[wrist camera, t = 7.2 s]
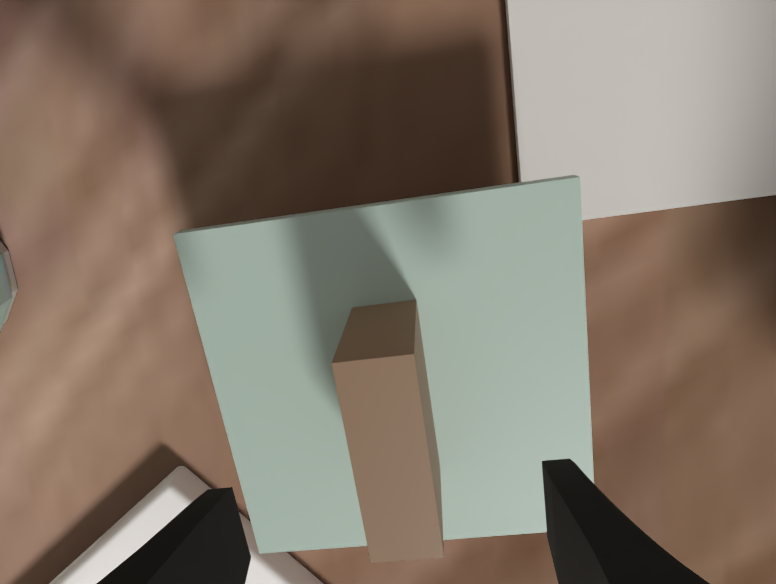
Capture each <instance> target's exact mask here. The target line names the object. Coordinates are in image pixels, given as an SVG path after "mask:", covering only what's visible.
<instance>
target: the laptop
mask: <svg viewBox="0 0 776 584" xmlns="http://www.w3.org/2000/svg"><path fill="white" fill-rule="evenodd" d="M208 489H211V488H210V487H209V486H208V485H206V484H205V483H204V482H203V481H202V480H200V479H199V478H198V477H197V476H196V475H195V474H193V473H192V472H191V471H190V470H189V469H187V468H186V467H184V466H178V467H177V468H176V469H175V470H173V471H172V472H171V473H170V474H169V475H168V476H167V477H166V478H165V479H164V480H162V481H161V482H160V483H159V484H158V485H157V486H156V487H155V488H154V489H152V490H151V491H150V492H149V493H148V494H147V495H146V496H145V497H144V498H143V499H141V500H140V501H139V502H138V503H137V504H136V505H135V506H134V507H133V508H132V509H130V510H129V511H128V512H127V513H126V514H125V515H124V516H123V517H122V518H121V519H119V520H118V521H117V522H116V523H115V524H114V525H113V526H112V527H111V528H110V529H108V530H107V531H106V532H105V533H104V534H103V535H102V536H101V537H100V538H99V539H97V540H96V541H95V542H94V543H93V544H92V545H91V546H90V547H89V548H88V549H86V550H85V551H84V552H83V553H82V554H81V555H80V556H79V557H78V558H77V559H75V560H74V561H73V562H72V563H71V564H70V565H69V566H68V567H67V568H66V569H64V570H63V571H62V572H61V573H60V574H59V575H58V576H57V577H56V578H55V579H53V580H52V581H51V582H50V583H49V584H97V583H98V582H99V581H100V580H102V579H103V578H104V577H105V576H107V575H108V574H109V573H110V572H111V571H113V570H114V569H115V568H116V567H118V566H119V565H120V564H121V563H122V562H124V561H125V560H126V559H127V558H129V557H130V556H131V555H132V554H133V553H135V552H136V551H137V550H138V549H139V548H141V547H142V546H143V545H144V544H145V543H146V542H147V541H149V540H150V539H151V538H152V537H153V536H154V535H155V534H157V533H158V532H159V531H160V530H161V529H162V528H163V527H164V526H166V525H167V524H168V523H169V522H170V521H171V520H172V519H174V518H175V517H176V516H177V515H178V514H179V513H180V512H181V511H183V510H184V509H185V508H186V507H187V506H188V505H189V504H191V503H192V502H193V501H194V500H195V499H196V498H198V497H199V496H200V495H201V494H203V493H204V492H205V491H206V490H208ZM239 515H240V518H241V522H242V526H243V529H244V533H245V537H246V540H247V544H248V547H249V551H250V555H251V560H250V564H249V569H248V573H247V577H246V582H245V584H323V583H322V582H321V581H320V580H319V579H317V578H316V577H315V576H314V575H313V574H312V573H310V572H309V571H308V570H307V569H306V568H304V567H303V566H302V565H301V564H300V563H299V562H297V561H296V560H295V559H294V558H293V557H291V556H290V555H289V554H288V553H287V552H276V553H262V554H259V550H258V547H257V543H256V539H255V536H254V532H253V528H252V525H251V522H250V521H249V520H248V519H247V518H245V517H244V516H243V515H242V514H241V513H239Z"/></svg>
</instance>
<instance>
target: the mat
mask: <svg viewBox="0 0 776 584" xmlns="http://www.w3.org/2000/svg"><path fill="white" fill-rule="evenodd" d="M505 5H506V18H507V31H508V45H509V58H510V71H511V84H512V97H513V110H514V124H515V137H516V150H517V163H518V176H519V182H526V181H533V180H540V179H547V178H555V177H562V176H569V175H576V176H579V177H580V188H581V210H582V220H587V219H595V218H602V217H610V216H618V215H625V214H633V213H641V212H648V211H656V210H664V209H671V208H679V207H687V206H694V205H702V204H710V203H717V202H725V201H733V200H740V199H748V198H756V197H763V196H771V195H776V0H505Z"/></svg>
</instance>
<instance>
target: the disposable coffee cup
mask: <svg viewBox="0 0 776 584" xmlns="http://www.w3.org/2000/svg"><path fill="white" fill-rule="evenodd" d="M17 290H18V288H17V284H16V279H15V275H14V271H13V267H12V263H11V259H10V255H9V251H8V250H7V248H6V247H5V246H4V245H3V244H2V242H1V241H0V332H1V329H2V326H3V324H4V323H5V322H6V321H7V319H8V316H9V313H10V310H11V307H12V304H13V301H14V299H15V296H16V293H17Z"/></svg>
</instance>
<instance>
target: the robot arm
mask: <svg viewBox="0 0 776 584" xmlns="http://www.w3.org/2000/svg"><path fill="white" fill-rule="evenodd" d="M542 472H543V485H544V498H545V512H546V525H547V537H548V541H549V545H550V550H551V554H552V558H553V563H554V567H555V571H556V575H557V579H558V583H559V584H710V583H708V582H707V581H705V580H704V579H702V578H701V577H700V576H698V575H697V574H695V573H694V572H693V571H691V570H690V569H689V568H687V567H686V566H684V565H683V564H682V563H680V562H679V561H678V560H677V559H675V558H674V557H673V556H672V555H670V554H669V553H668V552H667V551H665V550H664V549H663V548H662V547H661V546H659V545H658V544H657V543H656V542H655V541H653V540H652V539H651V538H650V537H649V536H648V535H646V534H645V533H644V532H643V531H642V530H641V529H640V528H639V527H637V526H636V525H635V524H634V523H633V522H632V521H631V520H630V519H629V518H628V517H627V516H626V515H625V514H624V513H622V512H621V511H620V510H619V509H618V508H617V507H616V506H615V505H614V504H613V503H612V502H611V501H610V500H609V499H608V498H607V497H606V496H605V495H604V494H603V493H602V492H601V491H600V490H599V489H598V488H597V487H596V486H595V484H594V483H593V482H592V481H591V480H590V479H589V478H588V477H587V476H586V475H585V474H584V472H583V471H582V470H581V469H580V468H579V467H578V466H577V464H576V463H575V462H573V461H572V460H571V459H558V460H546V461H542ZM250 560H251V555H250V551H249V547H248V544H247V540H246V537H245V533H244V529H243V526H242V522H241V518H240V515H239V511H238V507H237V504H236V500H235V496H234V493H233V489H232V487H231V488H219V489H208V490H206V491H205V492H204V493H203V494H201V495H200V496H199V497H198V498H196V499H195V500H194V501H193V502H192V503H191V504H189V505H188V506H187V507H186V508H185V509H184V510H183V511H181V512H180V513H179V514H178V515H177V516H176V517H175V518H174V519H172V520H171V521H170V522H169V523H168V524H167V525H166V526H164V527H163V528H162V529H161V530H160V531H159V532H158V533H157V534H155V535H154V536H153V537H152V538H151V539H150V540H149V541H147V542H146V543H145V544H144V545H143V546H142V547H141V548H139V549H138V550H137V551H136V552H135V553H133V554H132V555H131V556H130V557H129V558H127V559H126V560H125V561H124V562H122V563H121V564H120V565H119V566H118V567H116V568H115V569H114V570H113V571H111V572H110V573H109V574H108V575H107V576H105V577H104V578H103V579H102V580H100V581H99V582H98V583H97V584H245V582H246V577H247V573H248V569H249V564H250Z"/></svg>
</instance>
